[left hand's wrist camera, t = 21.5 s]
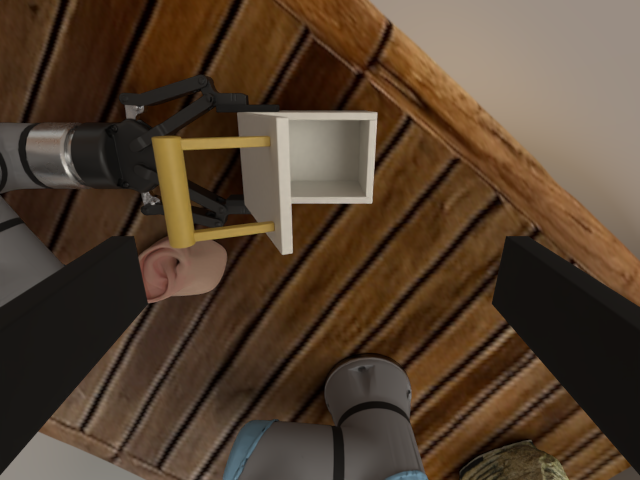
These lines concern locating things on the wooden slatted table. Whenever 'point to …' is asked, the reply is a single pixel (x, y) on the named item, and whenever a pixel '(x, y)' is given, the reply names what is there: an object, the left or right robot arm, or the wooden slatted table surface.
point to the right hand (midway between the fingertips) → (279, 156)
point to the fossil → (514, 464)
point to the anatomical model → (181, 269)
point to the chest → (331, 155)
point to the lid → (257, 172)
